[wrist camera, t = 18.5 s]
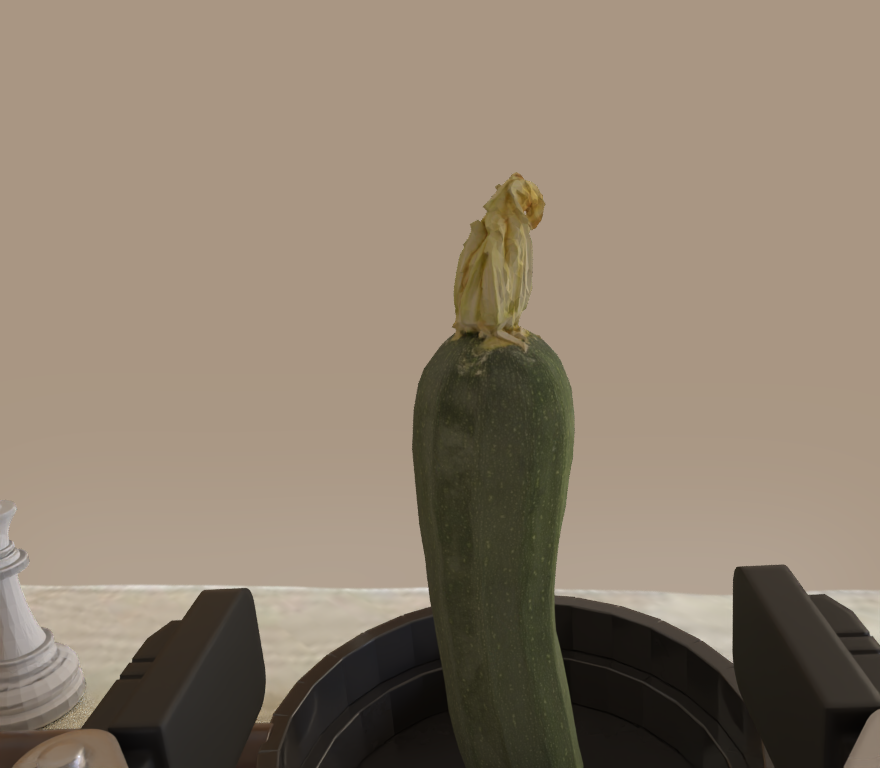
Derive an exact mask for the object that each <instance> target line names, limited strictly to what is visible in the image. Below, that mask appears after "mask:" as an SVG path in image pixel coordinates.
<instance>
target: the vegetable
mask: <svg viewBox="0 0 880 768" xmlns="http://www.w3.org/2000/svg"><path fill="white" fill-rule="evenodd" d="M495 188H496V189H497V191H496V193H495V194H494V195H493V196H492V198H491V199H490V200H489V201H488V202H487V203H486V204H485V205H484V206H483V207H484V208H485V209H486V210H487V213H486V215H485V216H484V218H483V219H482V220H481V222H480V221H479V220H477V221H475V222H473V223H471V224H470V226H471V233H470V235H469V238H468V239H467V241H466V242H465V243H464V244H463V245H464V249H463V250H462V252H461V254H460V258H459V262H458V267H457V272H456V278H455V285H454V305H455V308H456V309H455V313H456V321H455V323H454V324H453V326H452V327H453V328H455V329H456V333H454V334H453V335H452V336H451V337H450V338H448V339H447V340H446V341H445V342H444V343H443V344H442V345H441V346H440V348H439V349H438V350H437V352H436V353H435V354H434V356H433V357H432V358H431V360H430V361H429V363H428V364H427V365H426V367H425V368H424V370H423V373H422V375H421V378H420V381H419V383H418V389H417V395H416V400H415V406H414V417H413V441H412V442H413V443H412V450H413V462H414V473H415V484H416V494H417V504H418V516H419V525H420V531H421V537H422V543H423V549H424V554H425V561H426V571H427V580H428V587H429V595H430V602H431V608H432V613H433V618H434V624H435V630H436V636H437V642H438V648H439V653H440V659H441V664H442V669H443V675H444V680H445V687H446V694H447V702H448V709H449V713H450V718H451V722H452V726H453V730H454V734H455V738H456V741H457V744H458V748H459V751H460V753H461V756H462V759H463V761H464V764H465V767H466V768H583V761H582V757H581V753H580V749H579V745H578V740H577V734H576V728H575V723H574V717H573V711H572V705H571V699H570V694H569V688H568V683H567V678H566V673H565V668H564V663H563V658H562V654H561V650H560V645H559V641H558V637H557V633H556V624H555V609H554V585H555V571H556V561H557V553H558V544H559V537H560V531H561V526H562V521H563V516H564V512H565V507H566V499H567V491H568V490H567V489H568V482H569V475H570V470H571V464H572V459H573V444H574V409H573V399H572V390H571V386H570V383H569V380H568V377H567V375H566V372H565V370H564V368H563V365H562V363H561V361H560V359H559V357H558V356H557V354H556V353H555V352H554V351H553V350H552V349H551V348H550V347H549V346H548V345H547V344H546V343H545V342H544V341H543V340H542V339H541V337H540V336H539V335H535V334H533V333H531V332H529V331H527V330H525V329H523V328H522V327H519V326H518V322H519V318H520V316H521V313H522V311H523V310H525V309H526V307H527V304H528V300H529V297H530V294H531V291H532V260H533V259H532V258H533V257H532V254H533V252H532V251H533V250H532V241H531V238H530V235H529V232H530V230H533V229H535V228H536V227H537V225H538V224H539V222H540V221H541V219H542V216H543V210H544V206H545V203H544V201H543V195H542V194H541V193H540V191H539V189H538V187H537V186H536V185H535V184H533V183H532V182H530V181H526V180H524V178H523V177H522V176H521V175H520V174H518V173H517V172H516V173H514V174H512V175H511V177H510V178H509V180H507V181H506V182H505V183H504V184H503V185H502V186H501V185H500V184H498V185H497V186H496V187H495ZM524 211H526V215H525V214H524Z"/></svg>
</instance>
